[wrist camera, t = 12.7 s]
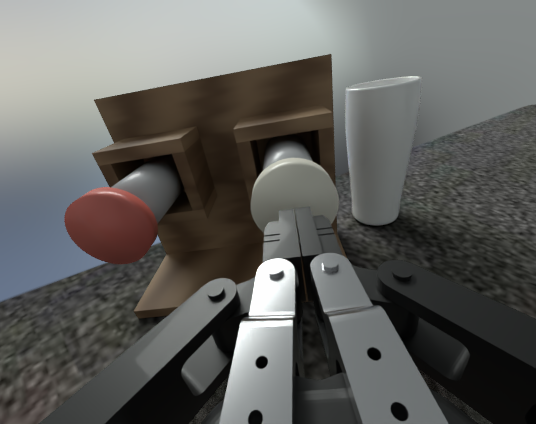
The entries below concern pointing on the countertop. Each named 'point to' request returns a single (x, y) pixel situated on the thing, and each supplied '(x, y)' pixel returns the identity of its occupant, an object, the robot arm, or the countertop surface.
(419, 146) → the countertop surface
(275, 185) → the ivory button
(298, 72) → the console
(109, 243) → the red button
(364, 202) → the drinking glass
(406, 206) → the countertop surface
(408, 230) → the countertop surface
